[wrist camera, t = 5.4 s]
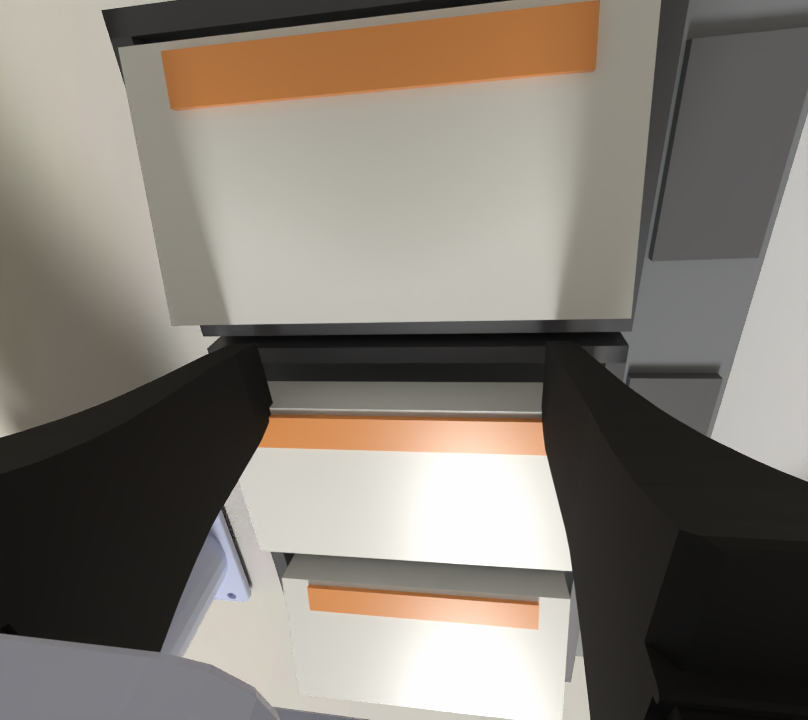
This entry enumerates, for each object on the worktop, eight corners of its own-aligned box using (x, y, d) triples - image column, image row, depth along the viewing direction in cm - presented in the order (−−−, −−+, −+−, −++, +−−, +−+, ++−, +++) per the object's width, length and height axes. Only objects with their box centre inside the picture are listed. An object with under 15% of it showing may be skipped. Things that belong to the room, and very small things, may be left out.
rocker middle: (276, 518, 16) (258, 555, 15) (238, 380, 14) (212, 410, 12) (572, 533, 15) (582, 576, 13) (592, 382, 12) (607, 416, 11)
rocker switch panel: (336, 621, 27) (314, 703, 23) (195, 28, 13) (89, -1, 10) (612, 645, 24) (636, 741, 21) (774, -44, 11) (923, -117, 7)
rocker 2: (310, 662, 20) (297, 698, 18) (295, 551, 18) (279, 581, 17) (555, 687, 18) (562, 729, 17) (562, 568, 16) (571, 603, 15)
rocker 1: (205, 313, 12) (167, 327, 11) (163, 69, 10) (111, 45, 9) (611, 306, 10) (633, 319, 9) (635, 17, 9) (666, -23, 7)
